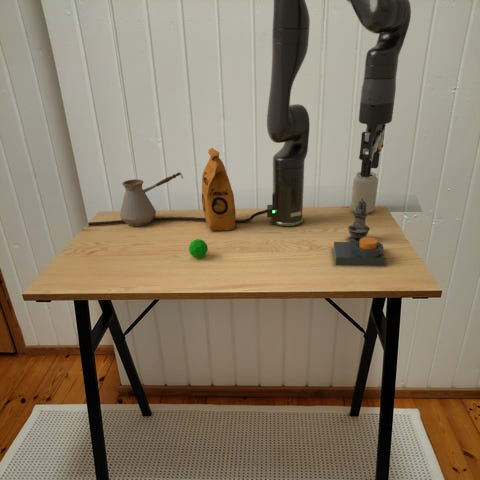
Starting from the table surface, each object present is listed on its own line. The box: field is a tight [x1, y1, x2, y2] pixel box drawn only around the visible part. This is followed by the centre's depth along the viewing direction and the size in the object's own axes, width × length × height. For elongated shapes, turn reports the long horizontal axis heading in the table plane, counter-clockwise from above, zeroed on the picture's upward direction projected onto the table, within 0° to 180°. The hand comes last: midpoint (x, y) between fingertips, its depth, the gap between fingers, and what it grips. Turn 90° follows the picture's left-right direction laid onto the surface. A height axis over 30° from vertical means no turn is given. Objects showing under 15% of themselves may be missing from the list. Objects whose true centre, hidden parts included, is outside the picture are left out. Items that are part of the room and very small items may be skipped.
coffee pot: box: [119, 171, 184, 227], centre depth 143 cm, size 21×12×15 cm, turn 95°
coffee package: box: [201, 147, 237, 232], centre depth 136 cm, size 10×12×22 cm
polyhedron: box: [188, 238, 209, 259], centre depth 121 cm, size 5×5×5 cm
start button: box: [359, 236, 379, 250], centre depth 114 cm, size 4×4×2 cm
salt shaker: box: [347, 199, 371, 242], centre depth 125 cm, size 6×6×12 cm
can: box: [350, 171, 379, 215], centre depth 145 cm, size 8×8×12 cm
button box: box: [332, 241, 386, 267], centre depth 117 cm, size 12×10×4 cm
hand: (369, 172), depth 112 cm, fingers open, 8 cm apart
